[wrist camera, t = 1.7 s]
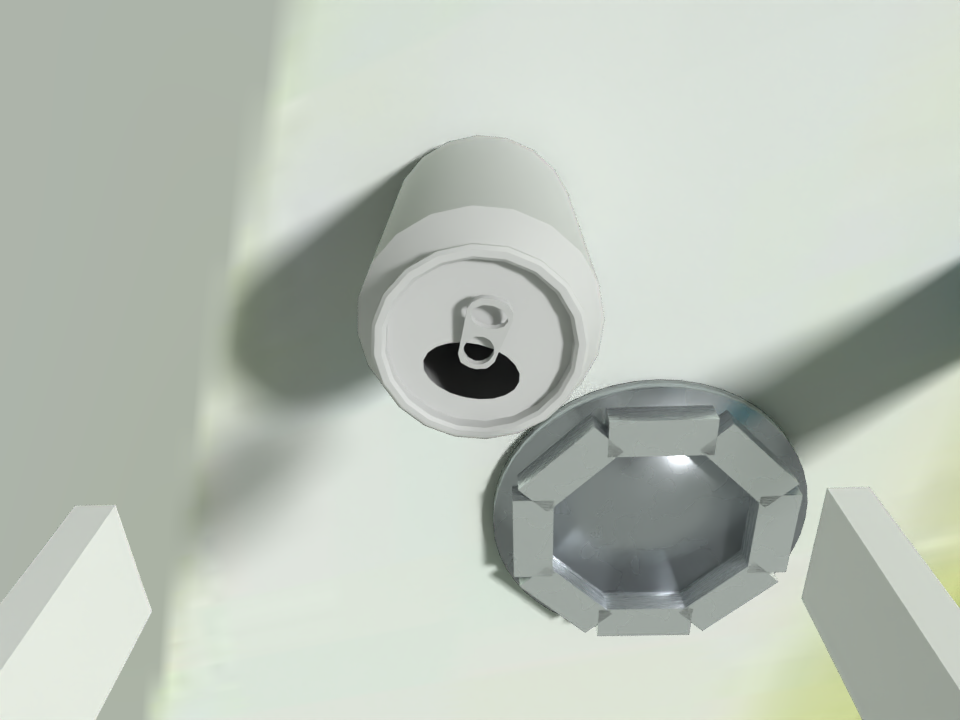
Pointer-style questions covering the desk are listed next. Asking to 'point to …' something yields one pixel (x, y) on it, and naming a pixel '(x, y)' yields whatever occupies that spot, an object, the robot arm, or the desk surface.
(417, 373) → the can
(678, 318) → the desk surface
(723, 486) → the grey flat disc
